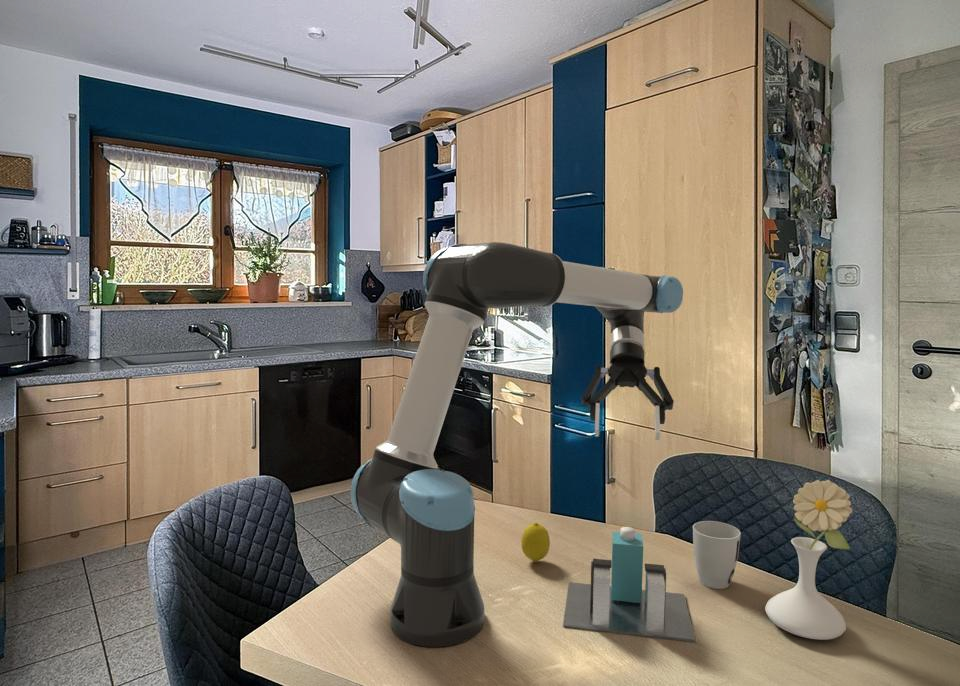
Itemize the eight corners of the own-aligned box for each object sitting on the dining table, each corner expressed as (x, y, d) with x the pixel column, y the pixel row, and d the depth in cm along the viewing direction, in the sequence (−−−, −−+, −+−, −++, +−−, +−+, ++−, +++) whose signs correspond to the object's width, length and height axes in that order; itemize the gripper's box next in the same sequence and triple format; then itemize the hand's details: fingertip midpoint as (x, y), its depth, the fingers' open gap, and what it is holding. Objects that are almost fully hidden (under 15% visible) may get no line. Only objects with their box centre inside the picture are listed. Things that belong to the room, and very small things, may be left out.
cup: (742, 595, 107) (745, 540, 106) (694, 590, 108) (696, 536, 107) (733, 573, 115) (735, 522, 114) (687, 569, 116) (689, 519, 115)
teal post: (611, 599, 103) (612, 534, 102) (611, 585, 108) (612, 522, 107) (641, 603, 102) (643, 536, 101) (640, 588, 107) (642, 525, 106)
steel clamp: (563, 626, 97) (564, 573, 96) (568, 584, 110) (569, 536, 110) (695, 642, 93) (697, 586, 92) (684, 596, 106) (686, 547, 105)
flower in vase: (749, 612, 101) (756, 466, 99) (806, 603, 104) (815, 461, 101) (809, 659, 89) (819, 493, 86) (872, 648, 91) (884, 486, 89)
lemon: (541, 571, 115) (542, 530, 115) (516, 564, 118) (516, 524, 118) (554, 559, 120) (554, 520, 119) (529, 553, 123) (529, 515, 122)
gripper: (680, 362, 138) (686, 447, 124) (574, 359, 143) (569, 440, 129) (683, 341, 132) (690, 428, 119) (573, 339, 137) (567, 422, 124)
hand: (626, 434), depth 124 cm, fingers open, 11 cm apart
